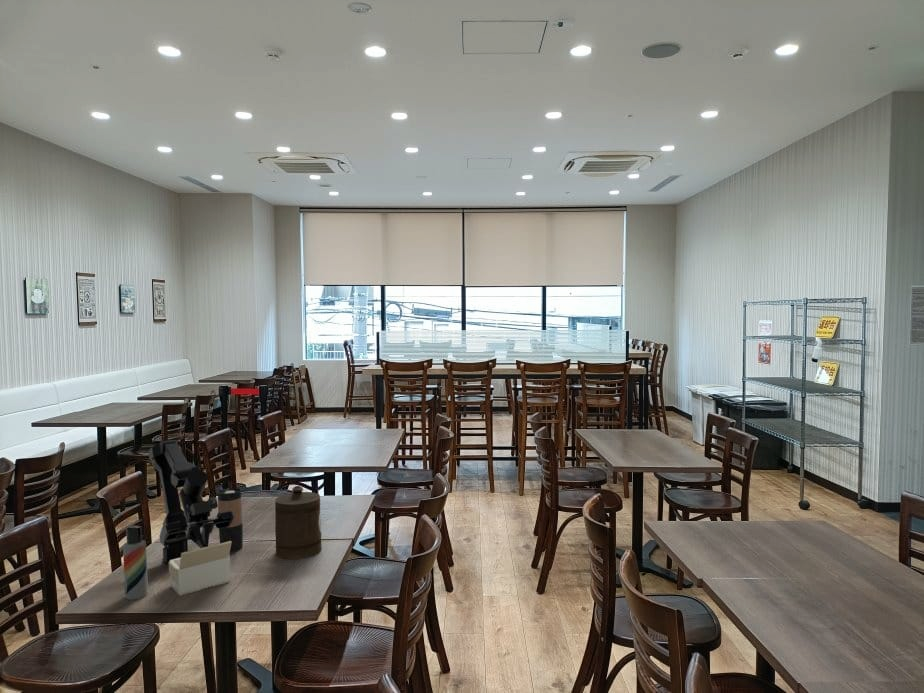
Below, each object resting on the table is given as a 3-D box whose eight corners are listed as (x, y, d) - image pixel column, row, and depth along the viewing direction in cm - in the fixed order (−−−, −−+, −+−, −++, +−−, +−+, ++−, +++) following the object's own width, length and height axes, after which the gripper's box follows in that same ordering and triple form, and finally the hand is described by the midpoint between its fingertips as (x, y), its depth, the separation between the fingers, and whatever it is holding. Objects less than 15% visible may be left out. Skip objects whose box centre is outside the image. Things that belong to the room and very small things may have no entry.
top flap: (181, 552, 168) (182, 554, 168) (231, 540, 177) (231, 542, 176) (179, 568, 170) (179, 569, 170) (228, 555, 179) (228, 557, 179)
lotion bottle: (121, 597, 170) (118, 527, 170) (141, 589, 175) (138, 521, 174) (131, 602, 167) (128, 530, 167) (151, 594, 172) (149, 524, 171)
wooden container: (331, 548, 205) (329, 483, 204) (296, 563, 193) (294, 494, 192) (300, 540, 213) (299, 478, 212) (266, 554, 201) (264, 488, 200)
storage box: (168, 585, 177) (167, 560, 177) (220, 571, 187) (219, 547, 187) (177, 596, 170) (176, 570, 170) (231, 581, 180) (230, 556, 179)
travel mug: (235, 553, 202) (233, 494, 201) (214, 552, 203) (212, 493, 203) (247, 545, 209) (245, 488, 209) (227, 544, 211) (225, 487, 210)
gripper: (163, 495, 170) (176, 545, 162) (230, 483, 182) (245, 529, 174) (157, 516, 177) (169, 565, 169) (222, 503, 189) (236, 548, 181)
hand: (206, 551), depth 173 cm, fingers closed, pressing on top flap
